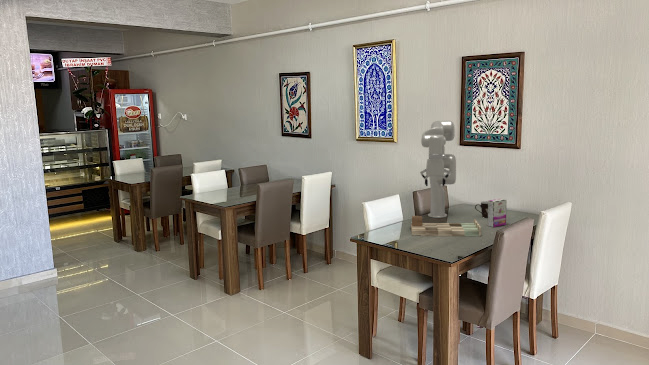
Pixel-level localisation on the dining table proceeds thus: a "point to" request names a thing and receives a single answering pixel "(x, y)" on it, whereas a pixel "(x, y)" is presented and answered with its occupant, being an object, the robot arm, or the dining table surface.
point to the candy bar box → (497, 212)
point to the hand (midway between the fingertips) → (435, 185)
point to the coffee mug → (484, 209)
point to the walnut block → (416, 220)
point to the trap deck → (447, 229)
